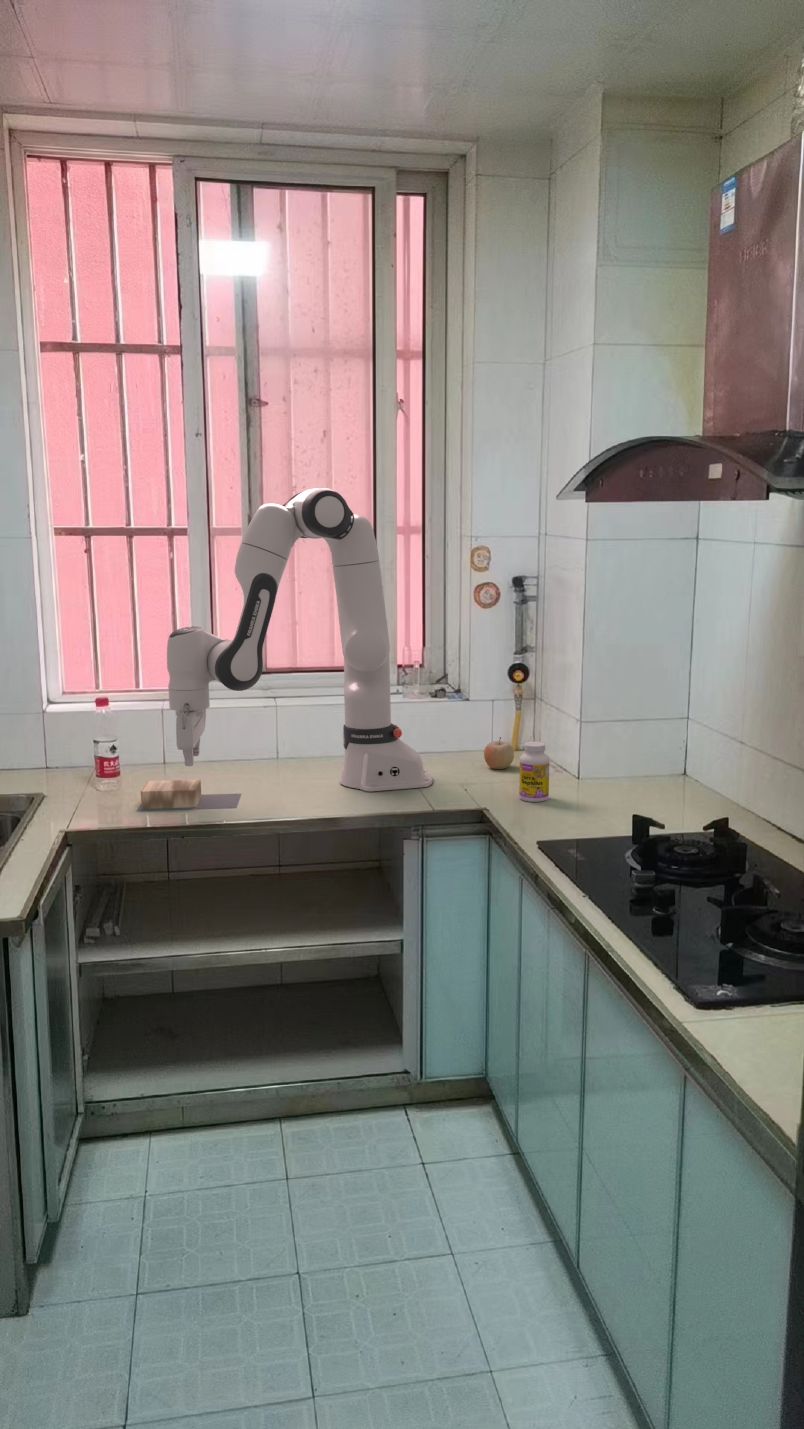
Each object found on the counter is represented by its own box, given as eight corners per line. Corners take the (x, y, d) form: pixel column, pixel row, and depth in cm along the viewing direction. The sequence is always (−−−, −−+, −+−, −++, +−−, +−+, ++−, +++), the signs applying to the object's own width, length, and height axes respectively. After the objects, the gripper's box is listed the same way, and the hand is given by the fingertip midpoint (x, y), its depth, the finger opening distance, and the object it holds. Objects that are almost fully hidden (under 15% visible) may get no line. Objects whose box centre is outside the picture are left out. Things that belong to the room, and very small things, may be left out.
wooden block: (200, 779, 246) (147, 781, 245) (195, 789, 237) (140, 791, 236) (201, 796, 247) (149, 797, 246) (196, 807, 238) (141, 808, 237)
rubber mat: (241, 795, 249) (241, 793, 248) (236, 810, 237) (236, 808, 237) (146, 798, 247) (146, 796, 247) (136, 813, 236) (136, 810, 236)
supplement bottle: (515, 801, 240) (516, 745, 238) (523, 793, 246) (524, 739, 244) (544, 804, 238) (545, 748, 235) (551, 796, 244) (552, 741, 241)
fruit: (497, 763, 276) (497, 732, 274) (519, 767, 270) (519, 737, 269) (477, 768, 271) (477, 737, 269) (498, 773, 265) (499, 742, 264)
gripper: (197, 708, 227) (200, 771, 230) (209, 691, 247) (211, 749, 250) (167, 709, 227) (171, 772, 230) (181, 692, 247) (184, 750, 250)
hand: (192, 760), depth 240 cm, fingers open, 8 cm apart
